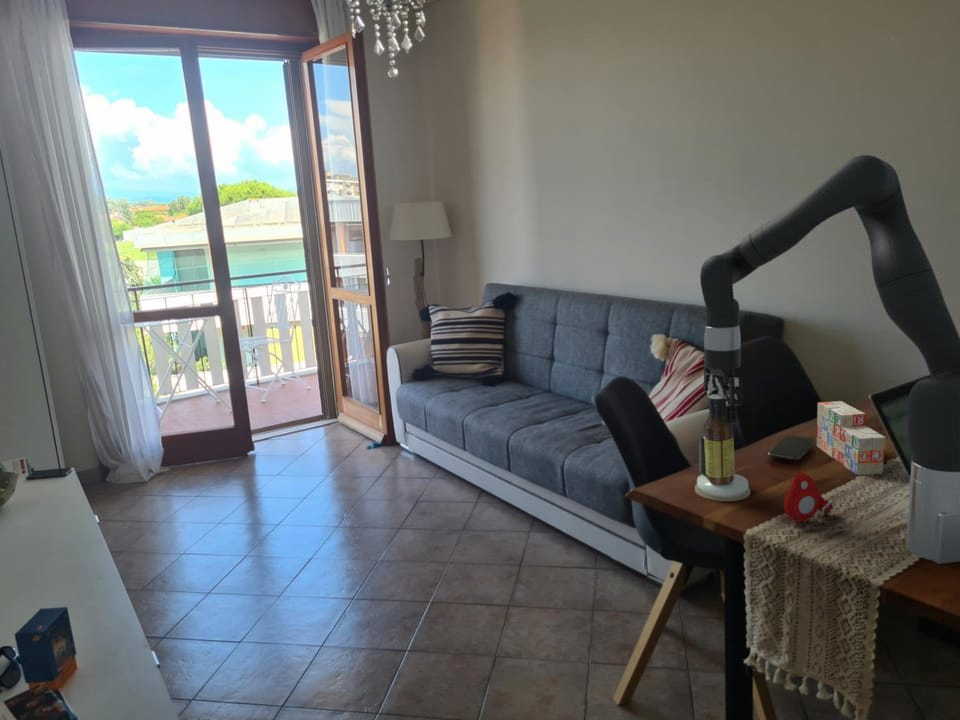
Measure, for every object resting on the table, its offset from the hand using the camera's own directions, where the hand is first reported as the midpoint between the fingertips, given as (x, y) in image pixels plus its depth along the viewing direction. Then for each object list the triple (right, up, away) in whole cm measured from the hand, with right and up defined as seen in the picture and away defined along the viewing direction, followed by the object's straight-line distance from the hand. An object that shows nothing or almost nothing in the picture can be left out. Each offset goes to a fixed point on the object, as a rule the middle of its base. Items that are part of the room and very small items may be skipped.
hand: (722, 416), depth 159 cm
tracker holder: (+13, -20, -13) cm, 27 cm away
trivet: (+1, -17, +4) cm, 18 cm away
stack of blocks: (+37, -12, +18) cm, 43 cm away
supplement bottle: (+1, -14, +8) cm, 16 cm away
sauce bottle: (0, -15, +3) cm, 15 cm away
